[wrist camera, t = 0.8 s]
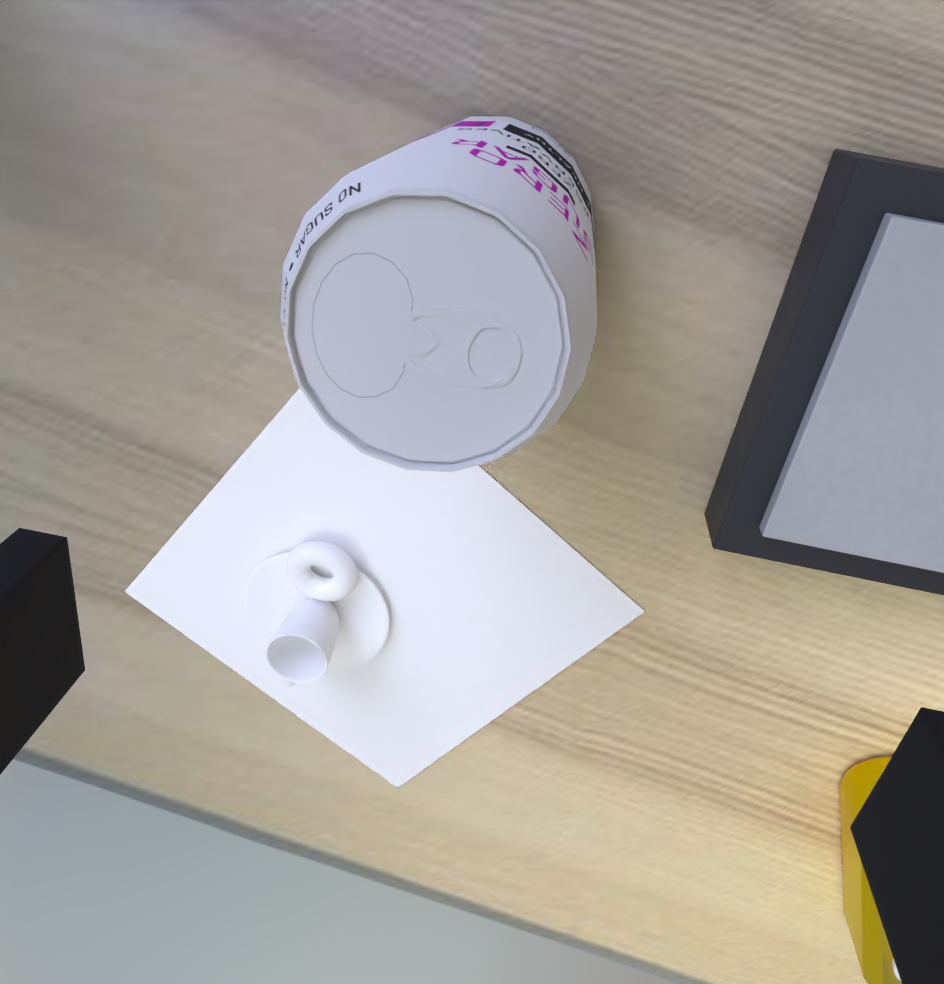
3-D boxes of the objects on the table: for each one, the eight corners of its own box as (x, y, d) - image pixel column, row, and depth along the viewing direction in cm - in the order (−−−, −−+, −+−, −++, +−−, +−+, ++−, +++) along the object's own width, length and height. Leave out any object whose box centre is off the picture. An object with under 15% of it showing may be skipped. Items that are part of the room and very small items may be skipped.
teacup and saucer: (312, 508, 40) (285, 553, 36) (431, 604, 42) (416, 655, 38) (219, 604, 43) (187, 653, 40) (332, 687, 45) (311, 741, 42)
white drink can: (382, 305, 34) (254, 458, 21) (406, 94, 30) (266, 124, 17) (567, 343, 34) (553, 522, 21) (616, 136, 30) (637, 198, 17)
